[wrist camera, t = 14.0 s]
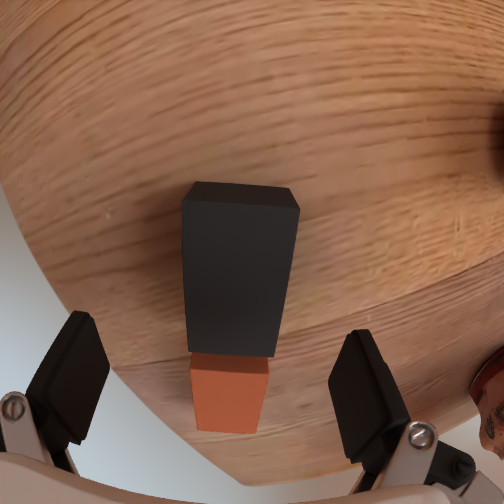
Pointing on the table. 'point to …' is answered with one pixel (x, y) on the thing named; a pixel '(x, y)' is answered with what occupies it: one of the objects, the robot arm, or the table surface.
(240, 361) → the pad
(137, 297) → the table surface
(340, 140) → the table surface
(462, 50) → the table surface
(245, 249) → the black box
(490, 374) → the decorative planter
